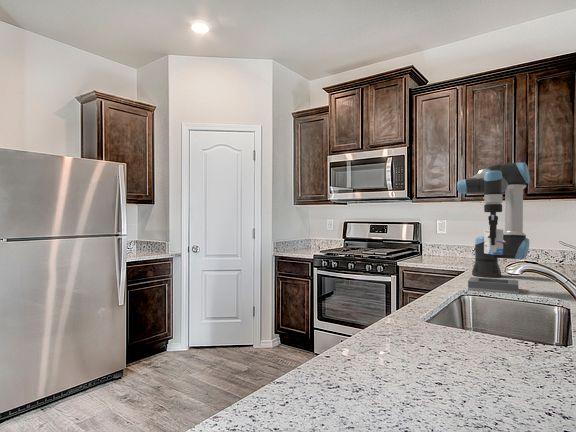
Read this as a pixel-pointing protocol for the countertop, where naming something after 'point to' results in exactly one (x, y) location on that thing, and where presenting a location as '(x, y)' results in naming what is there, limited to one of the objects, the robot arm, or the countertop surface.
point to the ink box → (498, 242)
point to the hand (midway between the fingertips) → (493, 251)
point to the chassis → (493, 285)
